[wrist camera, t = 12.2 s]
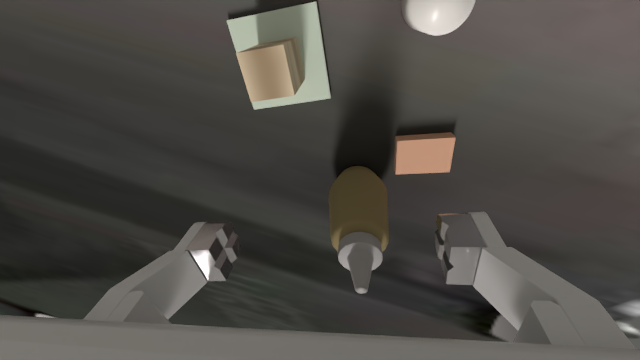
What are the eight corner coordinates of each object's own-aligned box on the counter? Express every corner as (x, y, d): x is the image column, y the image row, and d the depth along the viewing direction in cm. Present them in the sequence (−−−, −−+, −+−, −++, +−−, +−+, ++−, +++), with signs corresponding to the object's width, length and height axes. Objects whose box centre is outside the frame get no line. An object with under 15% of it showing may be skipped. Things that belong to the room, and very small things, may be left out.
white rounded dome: (454, -35, 25) (480, -46, 20) (450, 25, 28) (472, 29, 23) (400, -23, 26) (412, -30, 21) (401, 34, 29) (412, 40, 24)
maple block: (296, 36, 29) (283, 44, 23) (305, 79, 32) (294, 95, 26) (258, 44, 30) (235, 53, 24) (269, 84, 32) (251, 102, 26)
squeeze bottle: (376, 151, 36) (395, 252, 21) (390, 196, 40) (414, 308, 25) (322, 167, 39) (304, 269, 24) (340, 208, 43) (335, 318, 28)
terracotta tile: (450, 131, 34) (455, 137, 33) (445, 164, 37) (449, 171, 35) (394, 134, 35) (396, 141, 34) (393, 167, 38) (395, 174, 36)
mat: (316, 1, 28) (316, 1, 27) (330, 96, 33) (330, 98, 32) (228, 20, 29) (226, 20, 29) (255, 108, 35) (254, 109, 34)
